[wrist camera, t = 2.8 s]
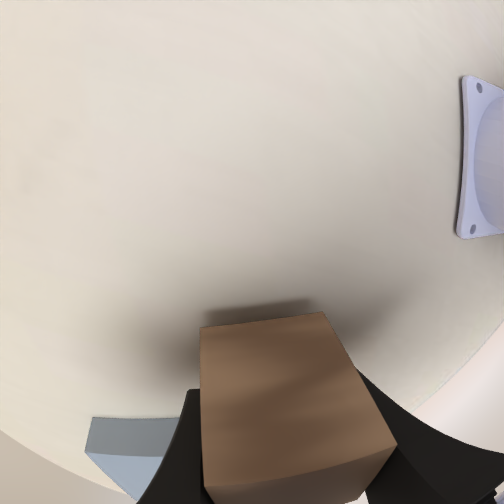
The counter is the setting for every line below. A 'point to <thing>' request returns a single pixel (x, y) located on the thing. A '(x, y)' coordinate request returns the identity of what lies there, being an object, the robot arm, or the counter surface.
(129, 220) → the counter surface
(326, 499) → the walnut block
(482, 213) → the robot arm
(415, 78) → the counter surface
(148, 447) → the blue-gray block
